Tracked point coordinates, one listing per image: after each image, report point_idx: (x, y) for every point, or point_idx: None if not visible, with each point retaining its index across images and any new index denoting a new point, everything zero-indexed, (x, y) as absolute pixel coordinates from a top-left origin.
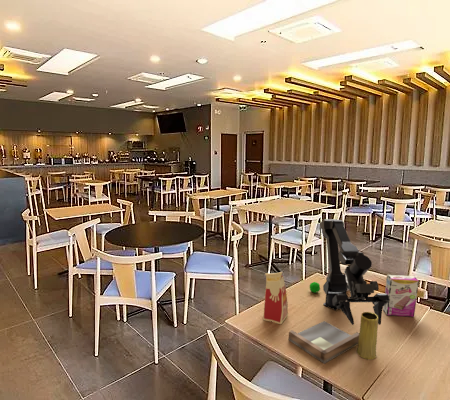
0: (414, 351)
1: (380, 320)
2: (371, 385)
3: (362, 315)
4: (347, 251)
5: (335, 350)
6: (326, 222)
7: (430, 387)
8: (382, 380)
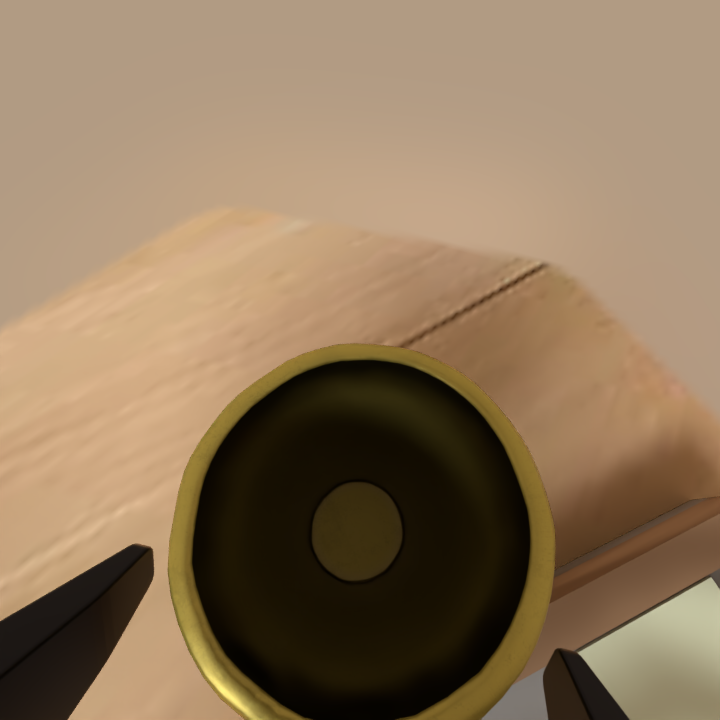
0: (12, 479)
1: (93, 576)
2: (481, 299)
3: (547, 559)
4: None
5: (636, 549)
6: None
7: (230, 241)
8: (409, 313)
